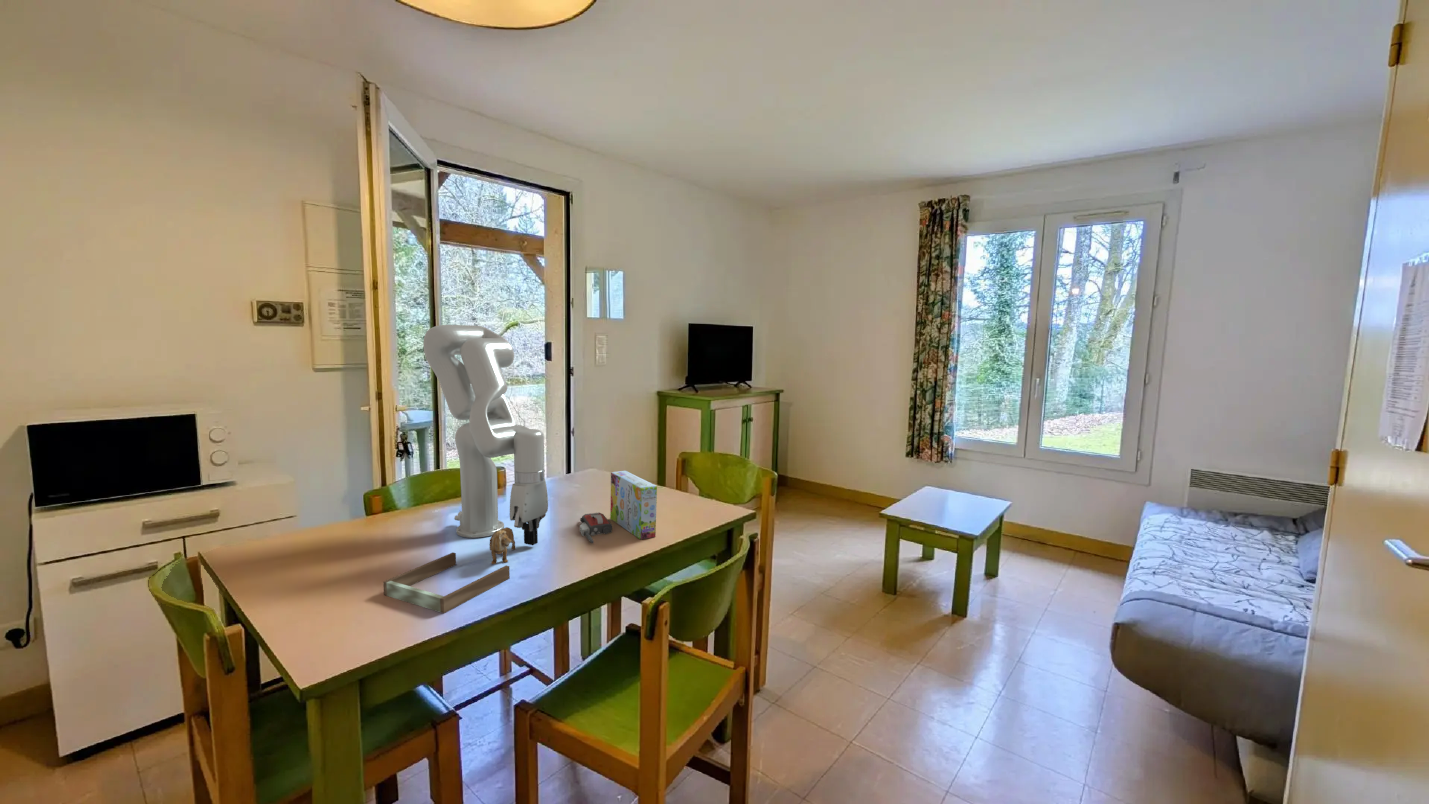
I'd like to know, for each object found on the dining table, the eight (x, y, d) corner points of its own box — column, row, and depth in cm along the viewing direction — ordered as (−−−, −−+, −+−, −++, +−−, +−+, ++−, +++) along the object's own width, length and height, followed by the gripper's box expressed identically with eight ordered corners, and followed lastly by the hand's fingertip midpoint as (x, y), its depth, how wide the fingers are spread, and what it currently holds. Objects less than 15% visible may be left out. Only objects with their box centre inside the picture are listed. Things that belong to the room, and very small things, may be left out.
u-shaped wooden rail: (383, 594, 119) (383, 581, 119) (453, 564, 136) (452, 552, 135) (444, 613, 112) (443, 599, 112) (509, 578, 129) (509, 566, 128)
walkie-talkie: (573, 524, 167) (588, 547, 149) (573, 509, 167) (588, 531, 149) (602, 520, 171) (620, 543, 153) (602, 506, 170) (620, 527, 152)
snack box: (657, 537, 157) (658, 485, 155) (639, 540, 154) (640, 488, 152) (625, 516, 174) (625, 469, 173) (608, 519, 171) (608, 471, 169)
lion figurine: (511, 568, 134) (510, 532, 133) (488, 570, 133) (487, 534, 132) (517, 545, 148) (516, 513, 147) (495, 547, 147) (494, 514, 146)
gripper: (537, 468, 154) (538, 532, 156) (497, 481, 140) (499, 551, 142) (559, 471, 151) (560, 536, 153) (520, 485, 137) (522, 556, 139)
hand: (530, 543), depth 148 cm, fingers closed
